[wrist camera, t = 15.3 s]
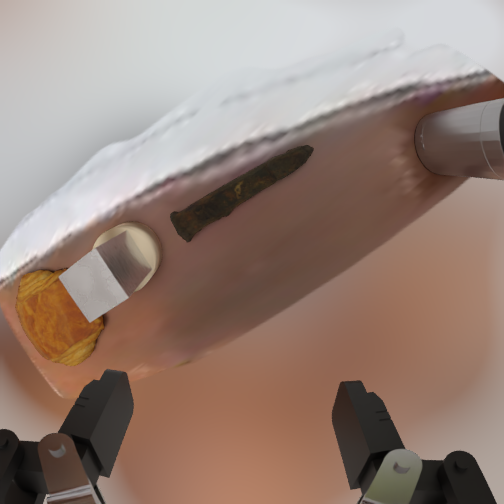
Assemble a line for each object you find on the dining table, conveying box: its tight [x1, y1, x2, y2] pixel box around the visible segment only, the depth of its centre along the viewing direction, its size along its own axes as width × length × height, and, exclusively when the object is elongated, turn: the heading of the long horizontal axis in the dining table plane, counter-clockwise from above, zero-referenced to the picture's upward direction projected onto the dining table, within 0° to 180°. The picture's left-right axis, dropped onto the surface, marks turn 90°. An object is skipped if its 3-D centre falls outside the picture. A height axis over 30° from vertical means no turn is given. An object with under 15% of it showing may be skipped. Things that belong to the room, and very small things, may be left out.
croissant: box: [15, 268, 104, 366], centre depth 39 cm, size 14×16×8 cm
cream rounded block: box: [93, 221, 162, 292], centre depth 36 cm, size 8×8×8 cm
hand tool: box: [170, 145, 314, 242], centre depth 37 cm, size 19×4×5 cm, turn 119°
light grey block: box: [59, 230, 152, 322], centre depth 31 cm, size 5×5×9 cm
